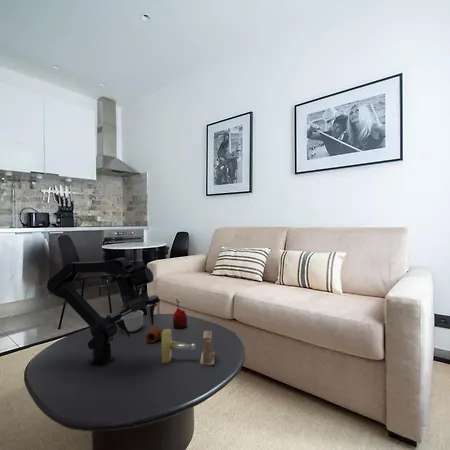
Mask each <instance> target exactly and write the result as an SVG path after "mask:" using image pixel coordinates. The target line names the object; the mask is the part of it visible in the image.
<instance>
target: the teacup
mask: <svg viewBox="0 0 450 450" xmlns="http://www.w3.org/2000/svg"><path fill="white" fill-rule="evenodd" d="M121 319H124V323H125V326H126V328H127V330H128V332H130V333H133V332H137V331H138V330H140V329H141V328H142V326H143V324H144V311H143V310H141V309H139V310H138V311H136V312H131V313H128V314H126V315H124V316H122V317H121Z"/></svg>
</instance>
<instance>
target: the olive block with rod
mask: <svg viewBox="0 0 450 450" xmlns="http://www.w3.org/2000/svg"><path fill="white" fill-rule="evenodd" d="M162 331H163V332H162V339H161V363H162V364H168V363H169V364H170V363H171V360H172V359H173V358H172V357H173V355H172V354H173V352H172V351H173V350H191V351H196V349H197V344H196V343H195V342H194V343H193V342H192V343H186V344H172V340H173V339H172V336H173V333H172V329H171V328H164V329H162Z"/></svg>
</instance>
